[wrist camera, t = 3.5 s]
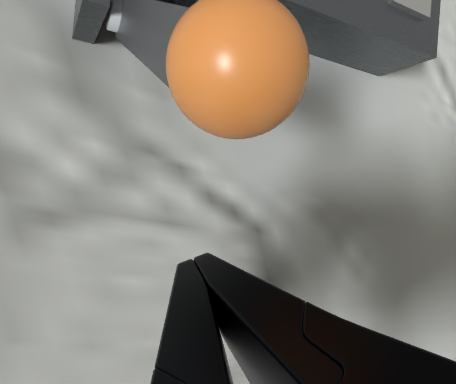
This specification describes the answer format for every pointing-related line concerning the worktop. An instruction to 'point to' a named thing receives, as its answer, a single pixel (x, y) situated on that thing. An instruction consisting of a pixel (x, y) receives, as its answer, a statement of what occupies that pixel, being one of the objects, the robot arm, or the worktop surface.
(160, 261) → the worktop surface
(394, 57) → the switch strip
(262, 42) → the orange knob lever
